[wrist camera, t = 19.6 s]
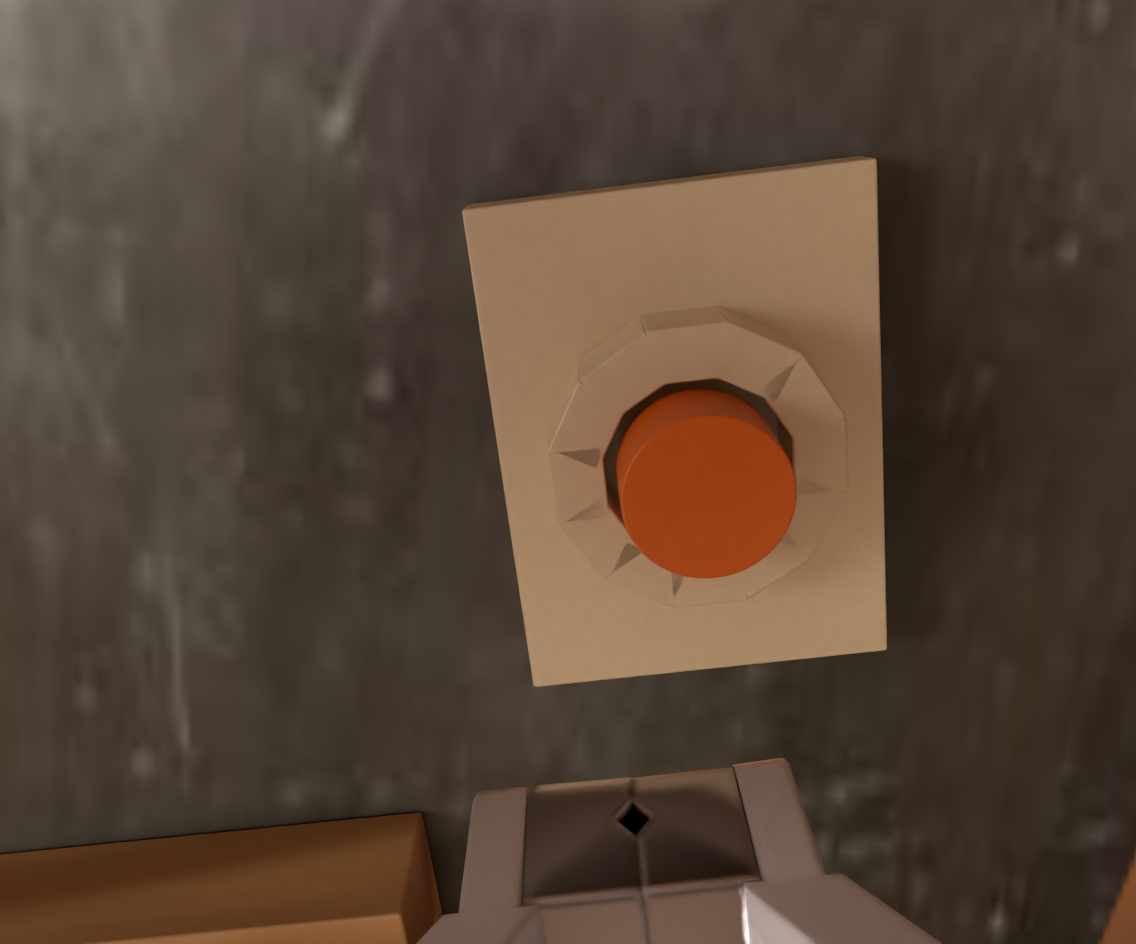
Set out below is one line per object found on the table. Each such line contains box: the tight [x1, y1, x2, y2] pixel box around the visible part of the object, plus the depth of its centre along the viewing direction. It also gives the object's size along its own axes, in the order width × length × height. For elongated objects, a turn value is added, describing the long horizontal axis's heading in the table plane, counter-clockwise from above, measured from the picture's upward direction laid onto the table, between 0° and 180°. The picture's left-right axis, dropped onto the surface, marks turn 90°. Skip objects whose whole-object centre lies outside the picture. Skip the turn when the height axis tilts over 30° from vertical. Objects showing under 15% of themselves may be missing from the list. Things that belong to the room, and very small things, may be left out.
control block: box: [462, 156, 887, 687], centre depth 24 cm, size 12×9×3 cm
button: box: [616, 389, 797, 579], centre depth 22 cm, size 4×4×2 cm
